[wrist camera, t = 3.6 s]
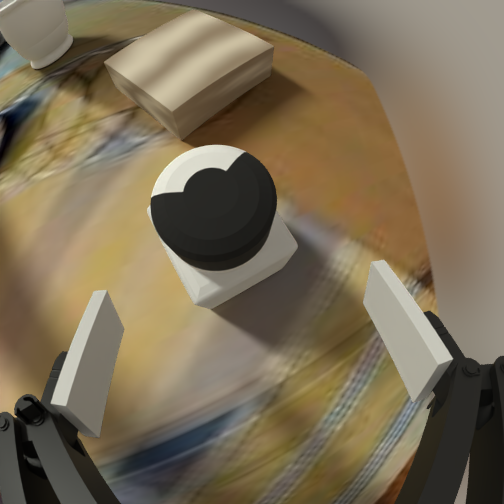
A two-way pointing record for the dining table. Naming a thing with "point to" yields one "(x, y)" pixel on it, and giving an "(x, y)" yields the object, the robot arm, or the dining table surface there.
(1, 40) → the casserole
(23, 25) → the jar
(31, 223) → the dining table surface
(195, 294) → the medicine bottle
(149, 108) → the birch block
